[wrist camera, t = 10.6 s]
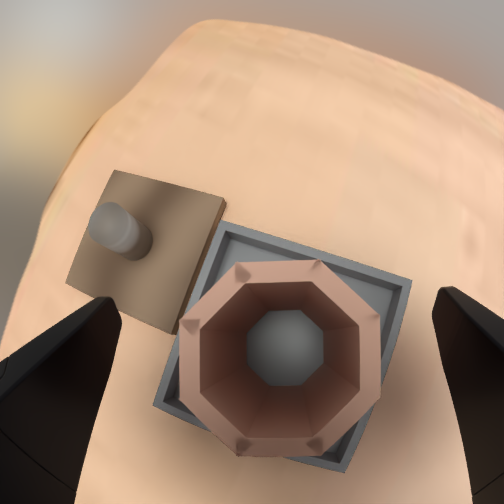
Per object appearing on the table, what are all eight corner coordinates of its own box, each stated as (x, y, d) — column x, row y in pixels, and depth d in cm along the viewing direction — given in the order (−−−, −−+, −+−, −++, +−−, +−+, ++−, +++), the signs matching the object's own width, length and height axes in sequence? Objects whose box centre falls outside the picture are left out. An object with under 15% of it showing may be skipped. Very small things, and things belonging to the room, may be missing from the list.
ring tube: (215, 348, 18) (141, 357, 9) (283, 279, 19) (276, 220, 9) (301, 429, 17) (310, 515, 7) (370, 360, 17) (447, 380, 8)
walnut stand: (226, 203, 21) (208, 167, 16) (176, 334, 19) (142, 332, 15) (119, 175, 23) (87, 142, 18) (73, 285, 21) (28, 271, 16)
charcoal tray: (399, 286, 19) (412, 280, 16) (338, 459, 16) (344, 472, 14) (227, 232, 21) (220, 219, 19) (166, 399, 18) (152, 405, 16)
